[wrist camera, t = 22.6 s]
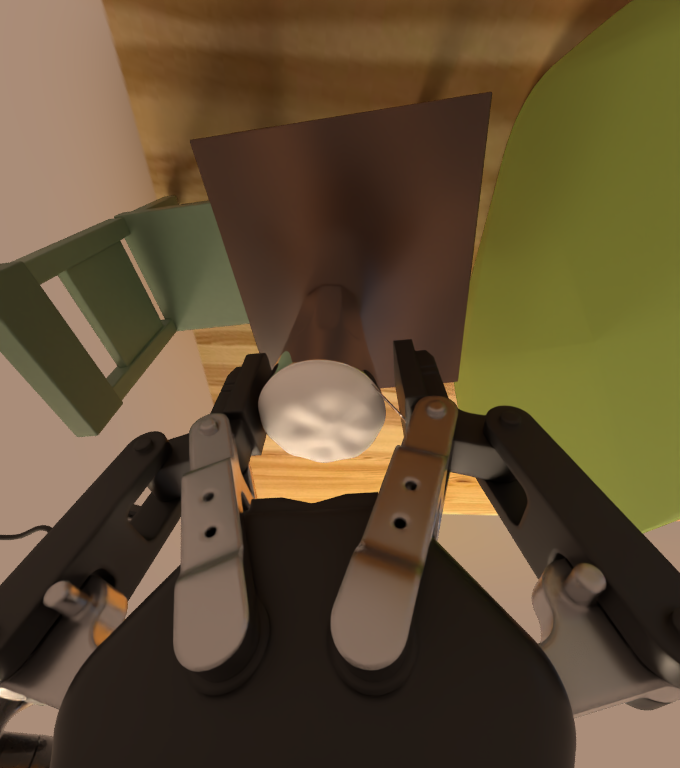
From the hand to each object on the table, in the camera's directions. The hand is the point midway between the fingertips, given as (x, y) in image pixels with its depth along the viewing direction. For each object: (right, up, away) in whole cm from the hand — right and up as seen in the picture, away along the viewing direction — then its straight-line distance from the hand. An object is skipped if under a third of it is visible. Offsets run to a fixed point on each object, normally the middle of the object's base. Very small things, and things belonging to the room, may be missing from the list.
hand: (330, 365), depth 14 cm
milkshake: (0, +3, +4) cm, 6 cm away
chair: (-9, +11, +14) cm, 20 cm away
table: (+1, +12, +13) cm, 17 cm away
